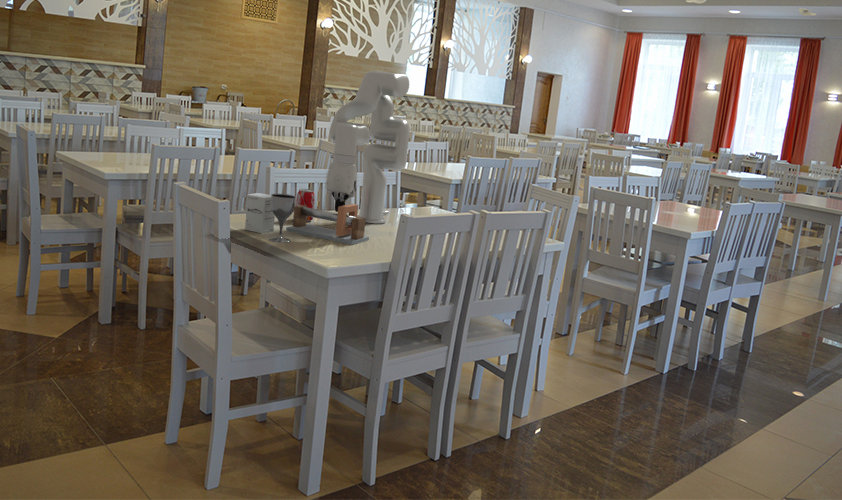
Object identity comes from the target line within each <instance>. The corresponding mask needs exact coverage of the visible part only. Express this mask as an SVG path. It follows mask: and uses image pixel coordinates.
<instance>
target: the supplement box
mask: <svg viewBox="0 0 842 500" xmlns="http://www.w3.org/2000/svg"><path fill="white" fill-rule="evenodd" d="M245 208H246V211H245V225H244V230H245V231H250V232H255V233H258V234H261V235H262V234H268V233H270V232H274V229H275V228H274V225H275V215H274V214H273V212H272V209H271V194H265V193H262V192H261V193H260V192H256V193H255V192H254V193H250V194H249V193H248V194H247V197H246V207H245Z"/></svg>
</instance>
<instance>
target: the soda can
mask: <svg viewBox="0 0 842 500" xmlns="http://www.w3.org/2000/svg"><path fill="white" fill-rule="evenodd" d="M315 202H316V194H315V190H314V189H313V190H312V189H309V188H299V189H298V192H297V193H296V200H295V206H300V205H304V206H307V208H312V209H315ZM313 219H314V217H310V216H307V218H306V223H309V222H311V221H313Z"/></svg>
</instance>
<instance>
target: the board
mask: <svg viewBox="0 0 842 500" xmlns="http://www.w3.org/2000/svg"><path fill="white" fill-rule="evenodd" d="M285 229H286V230H285V231H286V232H290V233H296V234H298V235H305V236H308V237H309V236H310V237H314V238H319V239H322V240H328V241H332V242H337V243H342V244H347V245H351V246H353V245H358V244H360V243H364V242H366V241H369V239H370V237H369V236H367V235H364V238H362V239H358V240H355V239H351V234H348V235H344V236H338V235H336V229H335V228H328V227H325V226H324V227H323V226H319V225H315V224H311V223H310V224H309V223H306V226H303V227H293V225H291V226H287V227H286V228H285Z"/></svg>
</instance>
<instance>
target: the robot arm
mask: <svg viewBox="0 0 842 500" xmlns="http://www.w3.org/2000/svg"><path fill="white" fill-rule="evenodd" d="M409 89H410V80H409V77H408V76H407V74H405V73H397V72H389V71H380V70H371V71H367V72H366V73H365V74H364V76H363V78H362V80H361V83H360V85H359V87H358V90H357V93H356V94H355V98H354V99H352V100H350V101H349V102H347V103H345V104H344V105H342V106H341V107H340V108H339V109H338V110H337V111H336V112H335V114H334V116H333V119H332V121H331V123H330V127H329V137H330V139H331V140H332V141H333V142H334V146H333V147H334V148H333V154H330V159H332V161H331V162H330V164H329V166H328V167H329V168H328V170H327V175H326V176H327V177H326V181H325V188H326V192H327V193H328V194H330V195H332V197H333V198H334V200H335V205H334V209H335V210H334V213H338V206H344V205H346V201H347V200H349V199H350V198H355V197H356V191H357V188H358V187H357V186H358V170H357V165H356V156H357V155H356V154H357V146H364V145H365V147H364V149H363V153H362V158H363V159H362V160H363V161H362V162H363V173H362V174H363V177H362V185H361V195H360V196H361V197H360V205H359V206H360V207H359V214H357V217H365V218H366V220H365V224H366V223H367V224H379V225H380V224H385V223H386V220H387V219H386V218H385V217H384V216H388V215H389V211H388V210H384V206H385V205H384V204H385V197H386V187H387V177H386V175H385V173H384V171H383V169H384V170H390V171H402V170H403V169H404V168H405V165H406V163H407V162H406V161H407V156H408V148H409V140H410V125H409V122H408V121H406V120H405V119H402V118H394V117H393V116H394V115H393V114H394V108H395V107H394V103H393V100H392V98H391V97H393V98H394V97H396V98H402V97H404V96H406V95H407V94H408V91H409ZM370 114H371V115H370ZM368 115H370V125H369V127H368V126H367V124H366V125H365V124H362V123H359V122H358V123H356V122H349V121H350V120H353V119H356V118H359V117H363V116H364V117H365V116H368ZM371 138H372V139H373V140H376V141H381V142H387V143H388V142H389V143H393V144H395V145H388V144H382V143H381V144H380V143H369V144H368V142H369V141H370V139H371ZM366 144H367V145H366Z"/></svg>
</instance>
